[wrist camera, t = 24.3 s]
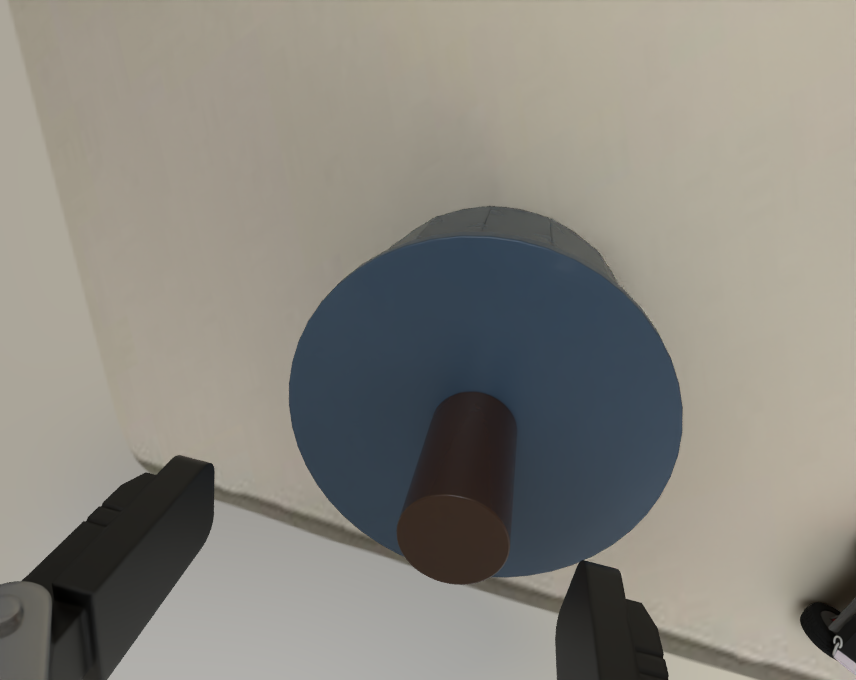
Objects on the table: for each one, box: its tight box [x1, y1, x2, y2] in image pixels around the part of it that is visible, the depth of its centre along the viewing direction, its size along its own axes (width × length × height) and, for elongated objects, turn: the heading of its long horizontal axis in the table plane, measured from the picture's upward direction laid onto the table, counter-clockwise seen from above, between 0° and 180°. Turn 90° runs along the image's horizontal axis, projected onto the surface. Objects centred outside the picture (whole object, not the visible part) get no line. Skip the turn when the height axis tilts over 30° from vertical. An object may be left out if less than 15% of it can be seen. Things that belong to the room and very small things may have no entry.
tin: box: [388, 206, 619, 285], centre depth 24 cm, size 13×13×8 cm
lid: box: [289, 232, 683, 585], centre depth 18 cm, size 14×14×7 cm
